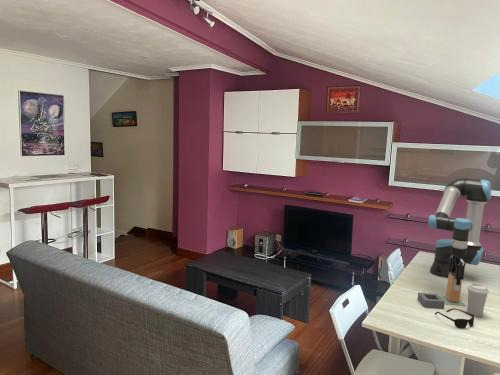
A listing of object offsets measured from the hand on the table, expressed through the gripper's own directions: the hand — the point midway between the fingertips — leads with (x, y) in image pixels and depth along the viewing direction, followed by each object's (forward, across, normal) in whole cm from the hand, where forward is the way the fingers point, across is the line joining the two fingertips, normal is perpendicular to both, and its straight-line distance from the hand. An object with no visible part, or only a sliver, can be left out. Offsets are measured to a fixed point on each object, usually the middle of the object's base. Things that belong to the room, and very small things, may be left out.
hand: (453, 287), depth 205 cm
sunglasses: (+8, +23, -9) cm, 26 cm away
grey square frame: (+8, +6, -14) cm, 17 cm away
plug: (+7, 0, 0) cm, 7 cm away
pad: (+8, 0, 0) cm, 8 cm away
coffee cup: (+8, +14, +5) cm, 17 cm away
